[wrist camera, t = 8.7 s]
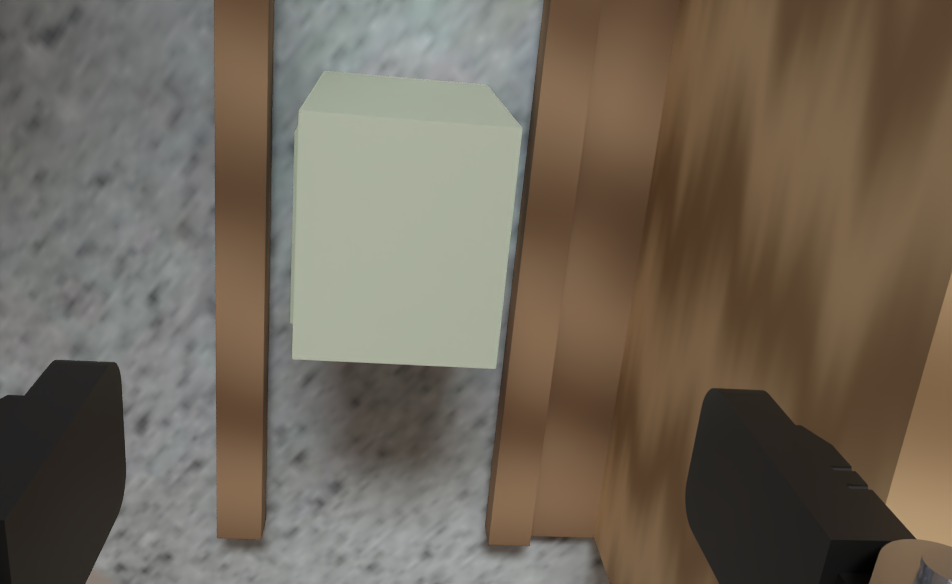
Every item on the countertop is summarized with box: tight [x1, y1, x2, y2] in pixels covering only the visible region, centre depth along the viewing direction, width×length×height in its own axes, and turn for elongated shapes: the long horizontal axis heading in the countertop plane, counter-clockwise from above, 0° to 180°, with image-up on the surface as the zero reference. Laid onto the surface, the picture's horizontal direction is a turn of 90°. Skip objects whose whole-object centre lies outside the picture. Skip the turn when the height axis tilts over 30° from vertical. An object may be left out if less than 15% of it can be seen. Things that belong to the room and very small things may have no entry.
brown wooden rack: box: [214, 0, 952, 584], centre depth 21 cm, size 26×16×16 cm, turn 175°
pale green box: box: [290, 71, 522, 369], centre depth 25 cm, size 6×5×8 cm
